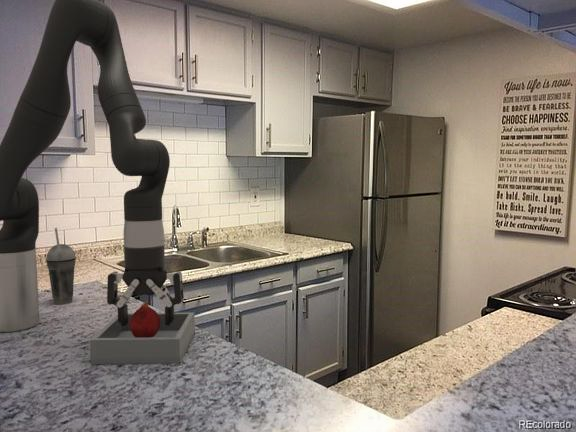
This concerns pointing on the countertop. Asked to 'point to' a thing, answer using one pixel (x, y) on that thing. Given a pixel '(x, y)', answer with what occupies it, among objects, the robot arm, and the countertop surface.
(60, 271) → the beverage cup
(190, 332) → the tray
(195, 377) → the countertop surface
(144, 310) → the onion
